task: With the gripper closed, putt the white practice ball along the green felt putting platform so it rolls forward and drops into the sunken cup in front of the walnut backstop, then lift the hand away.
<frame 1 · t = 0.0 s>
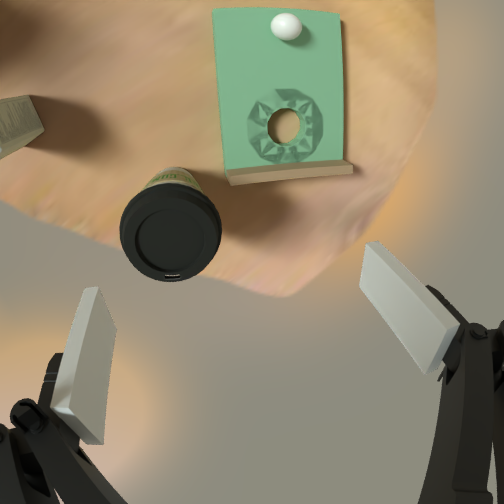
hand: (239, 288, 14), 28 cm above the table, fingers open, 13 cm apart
ball: (286, 26, 28), point 4 cm above the table, touching putting platform
putting platform: (280, 88, 35), on the table
skincare box: (27, 120, 30), on the table
coffee cup: (173, 188, 40), on the table
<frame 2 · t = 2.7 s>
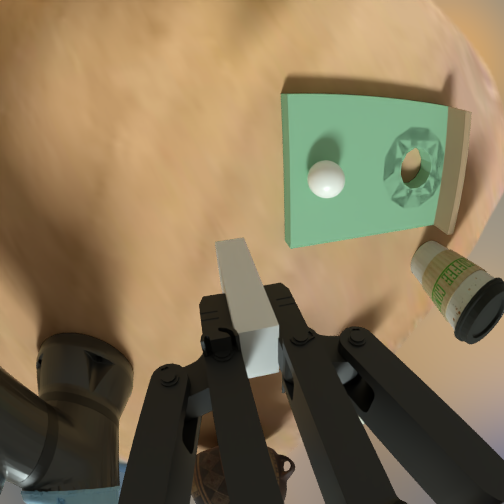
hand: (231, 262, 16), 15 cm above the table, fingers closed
ball: (326, 179, 28), point 4 cm above the table, touching putting platform
putting platform: (374, 164, 32), on the table
coffee cup: (424, 257, 42), on the table
vase: (227, 441, 57), on the table
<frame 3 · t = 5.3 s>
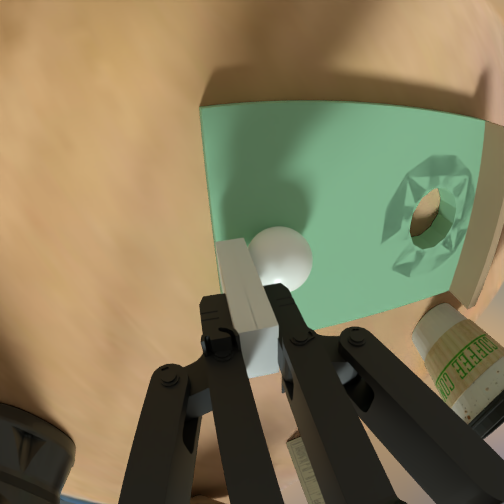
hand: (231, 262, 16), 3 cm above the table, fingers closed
ball: (279, 260, 17), point 4 cm above the table, touching gripper
putting platform: (368, 214, 21), on the table
skincare box: (308, 436, 38), on the table
coffee cup: (431, 323, 31), on the table
vase: (195, 494, 46), on the table
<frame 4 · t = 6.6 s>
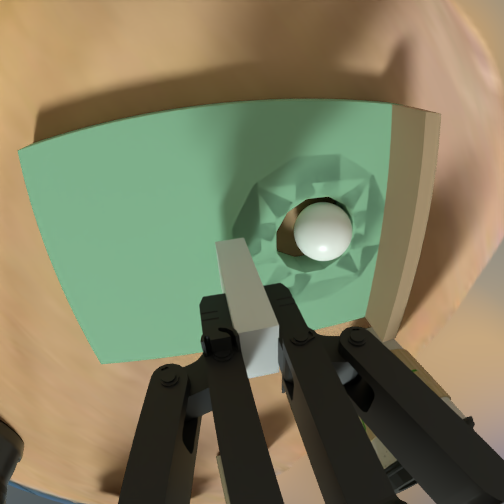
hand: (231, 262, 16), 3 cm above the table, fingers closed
ball: (323, 231, 19), point 2 cm above the table, tilted 87°
putting platform: (228, 233, 19), on the table
coffee cup: (361, 347, 29), on the table
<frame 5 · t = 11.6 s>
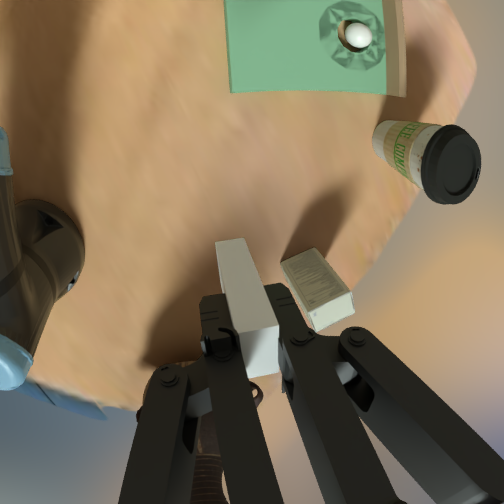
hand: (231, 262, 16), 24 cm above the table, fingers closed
ball: (358, 35, 30), point 2 cm above the table, tilted 91°
putting platform: (312, 33, 31), on the table
skincare box: (300, 263, 48), on the table
coffee cup: (388, 139, 41), on the table
vase: (191, 370, 56), on the table
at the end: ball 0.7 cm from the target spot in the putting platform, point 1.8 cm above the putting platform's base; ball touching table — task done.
